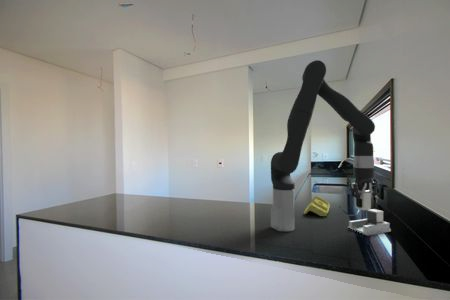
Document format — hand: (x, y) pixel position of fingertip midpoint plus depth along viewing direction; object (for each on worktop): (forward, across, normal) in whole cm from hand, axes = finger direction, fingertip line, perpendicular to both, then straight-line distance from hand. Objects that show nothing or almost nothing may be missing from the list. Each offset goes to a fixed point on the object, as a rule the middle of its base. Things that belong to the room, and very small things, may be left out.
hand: (363, 206), depth 98 cm
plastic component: (+11, +4, +30) cm, 32 cm away
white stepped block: (+10, +3, 0) cm, 11 cm away
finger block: (+1, 0, 0) cm, 1 cm away
